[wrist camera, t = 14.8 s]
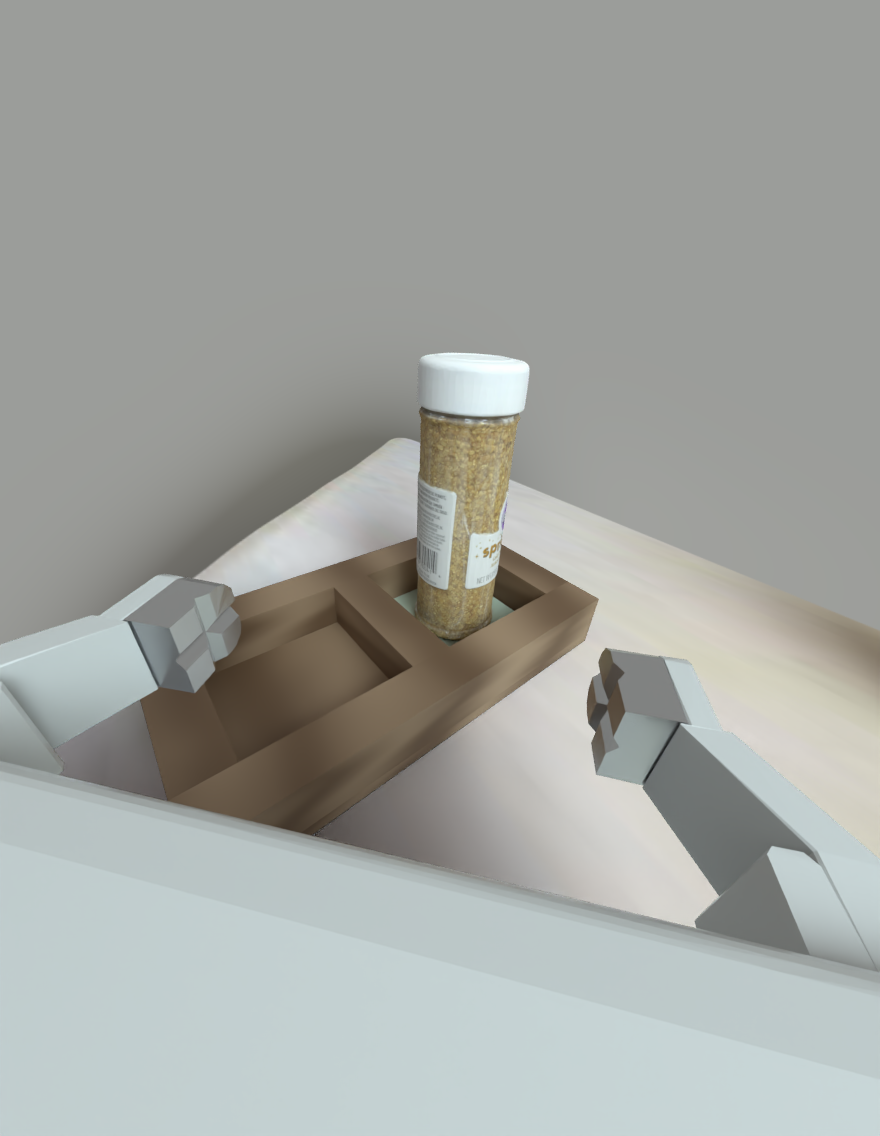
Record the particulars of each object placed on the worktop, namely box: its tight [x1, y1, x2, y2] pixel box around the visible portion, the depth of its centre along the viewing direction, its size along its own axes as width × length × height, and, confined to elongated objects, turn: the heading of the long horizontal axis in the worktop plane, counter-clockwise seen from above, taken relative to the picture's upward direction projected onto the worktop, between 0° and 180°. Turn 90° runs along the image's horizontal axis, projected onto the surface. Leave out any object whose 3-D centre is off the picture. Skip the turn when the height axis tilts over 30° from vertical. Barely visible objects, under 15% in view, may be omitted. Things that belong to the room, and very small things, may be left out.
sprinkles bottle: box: [414, 353, 529, 640], centre depth 20 cm, size 5×5×13 cm
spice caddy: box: [140, 537, 599, 835], centre depth 21 cm, size 20×11×3 cm, turn 130°
